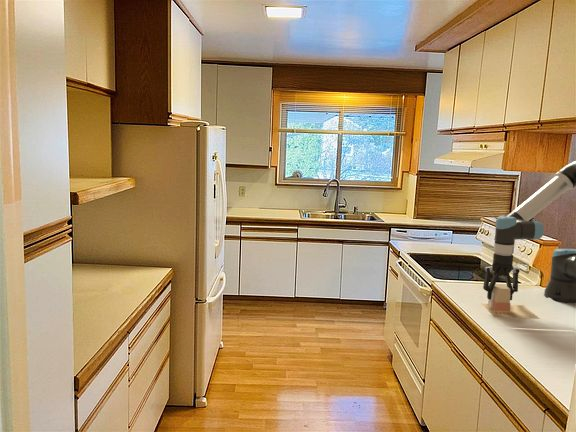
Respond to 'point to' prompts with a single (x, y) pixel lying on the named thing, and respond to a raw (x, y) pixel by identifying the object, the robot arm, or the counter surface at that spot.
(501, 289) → the block
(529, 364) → the counter surface
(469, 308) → the counter surface
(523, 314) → the board
